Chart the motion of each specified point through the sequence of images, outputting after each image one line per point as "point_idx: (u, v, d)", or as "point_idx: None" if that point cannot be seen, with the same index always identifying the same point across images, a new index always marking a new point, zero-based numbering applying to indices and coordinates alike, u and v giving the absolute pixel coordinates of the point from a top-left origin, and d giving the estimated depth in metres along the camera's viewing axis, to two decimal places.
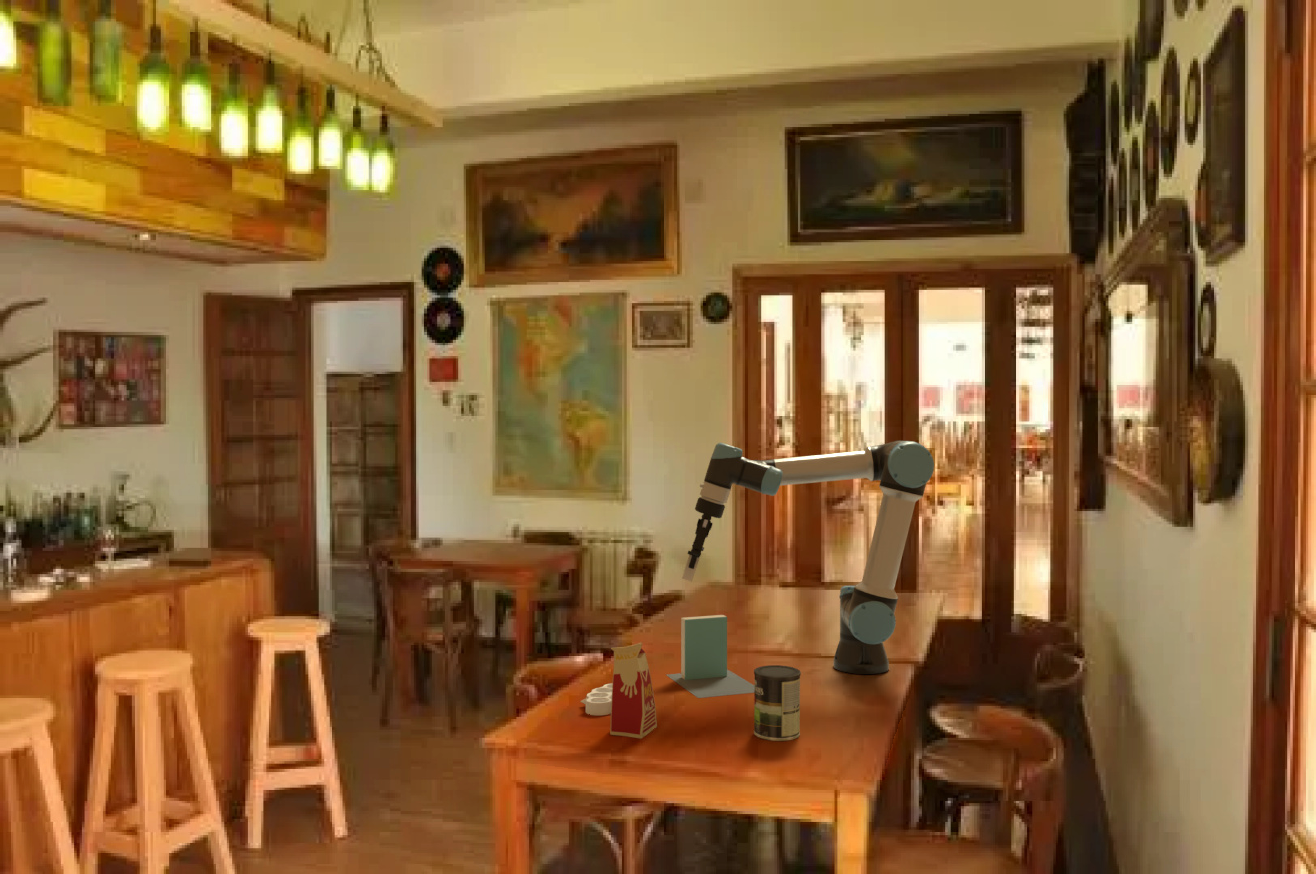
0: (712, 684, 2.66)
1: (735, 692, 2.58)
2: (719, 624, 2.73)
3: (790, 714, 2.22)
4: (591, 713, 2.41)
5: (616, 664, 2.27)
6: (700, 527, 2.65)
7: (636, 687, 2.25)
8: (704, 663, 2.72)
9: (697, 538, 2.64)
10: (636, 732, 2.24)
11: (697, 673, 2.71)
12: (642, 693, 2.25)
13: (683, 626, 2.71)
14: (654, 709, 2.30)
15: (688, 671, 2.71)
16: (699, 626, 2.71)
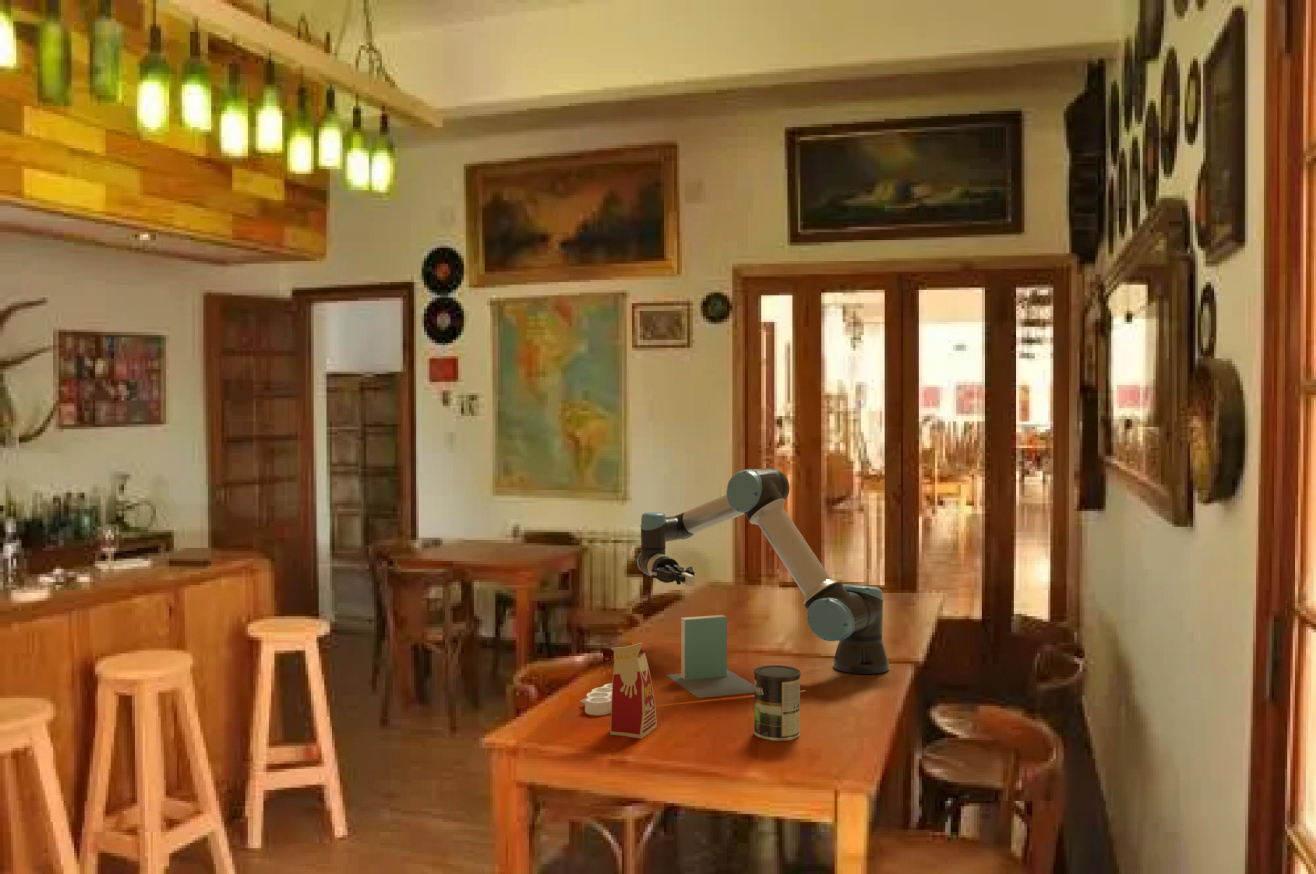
0: (712, 684, 2.66)
1: (735, 692, 2.58)
2: (719, 624, 2.73)
3: (790, 714, 2.22)
4: (590, 713, 2.41)
5: (616, 664, 2.27)
6: (657, 577, 2.93)
7: (635, 687, 2.25)
8: (704, 663, 2.72)
9: (663, 578, 2.91)
10: (636, 732, 2.24)
11: (697, 673, 2.71)
12: (642, 693, 2.25)
13: (683, 626, 2.71)
14: (654, 709, 2.30)
15: (688, 671, 2.71)
16: (699, 626, 2.71)
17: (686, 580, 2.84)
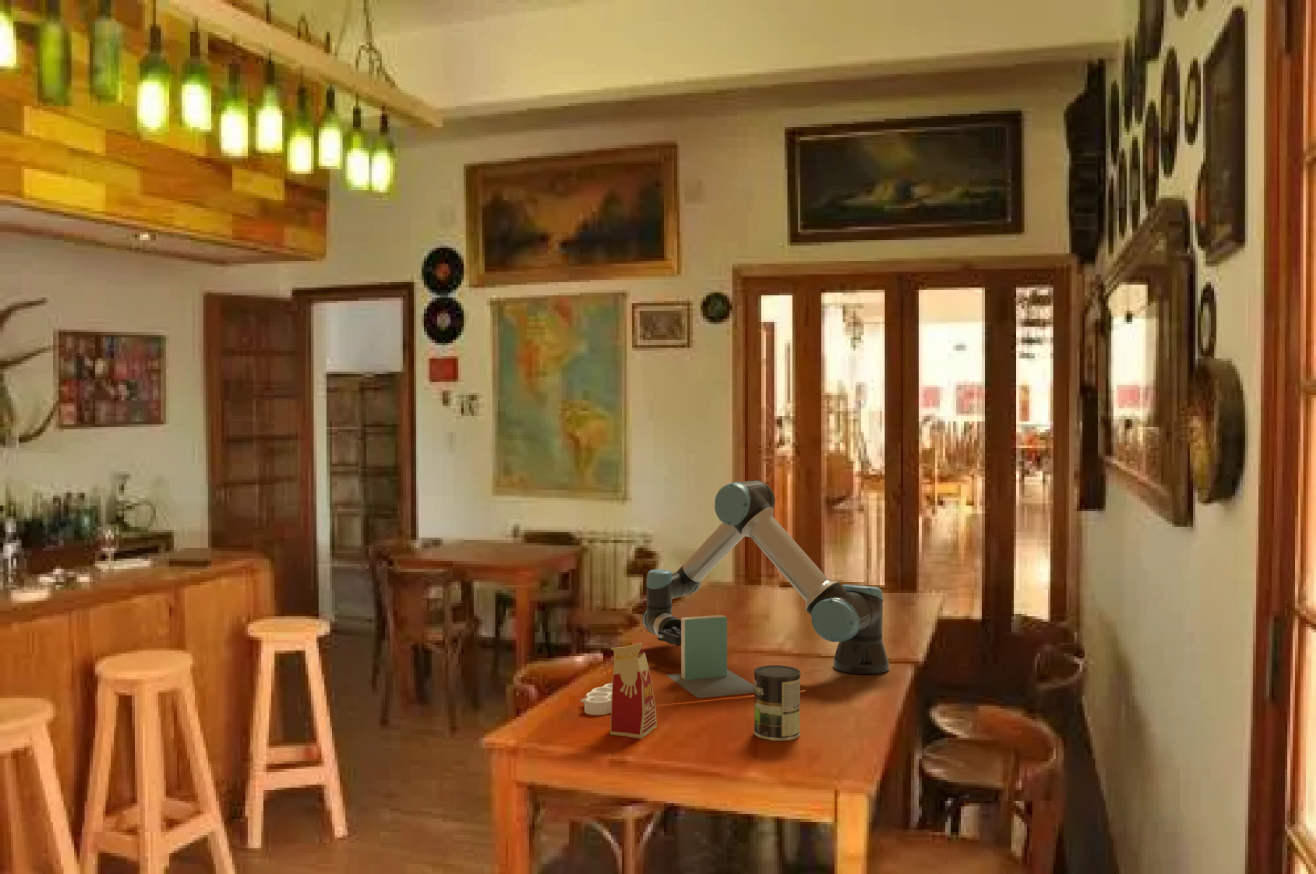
0: (712, 684, 2.66)
1: (735, 692, 2.58)
2: (719, 624, 2.73)
3: (790, 714, 2.22)
4: (590, 712, 2.41)
5: (616, 664, 2.27)
6: (663, 640, 2.87)
7: (635, 687, 2.25)
8: (704, 663, 2.72)
9: (669, 641, 2.84)
10: (636, 732, 2.24)
11: (697, 673, 2.71)
12: (642, 693, 2.25)
13: (683, 626, 2.71)
14: (654, 709, 2.30)
15: (688, 671, 2.71)
16: (699, 626, 2.71)
17: None
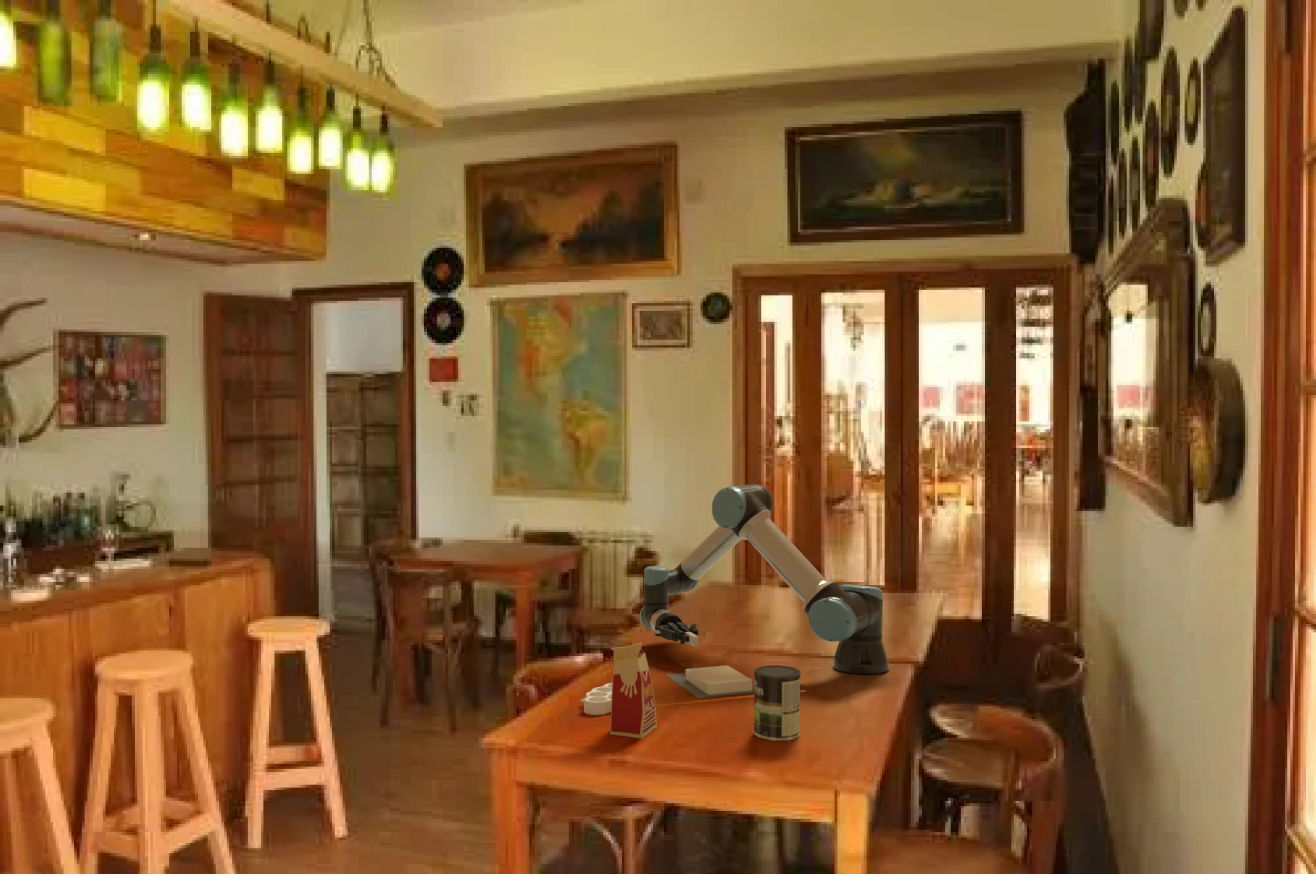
0: None
1: None
2: None
3: (790, 714, 2.22)
4: (589, 712, 2.42)
5: (616, 664, 2.27)
6: (660, 635, 2.91)
7: (635, 687, 2.25)
8: None
9: (666, 637, 2.88)
10: (636, 732, 2.24)
11: None
12: (642, 693, 2.25)
13: (705, 690, 2.57)
14: (654, 709, 2.30)
15: None
16: None
17: (690, 640, 2.81)
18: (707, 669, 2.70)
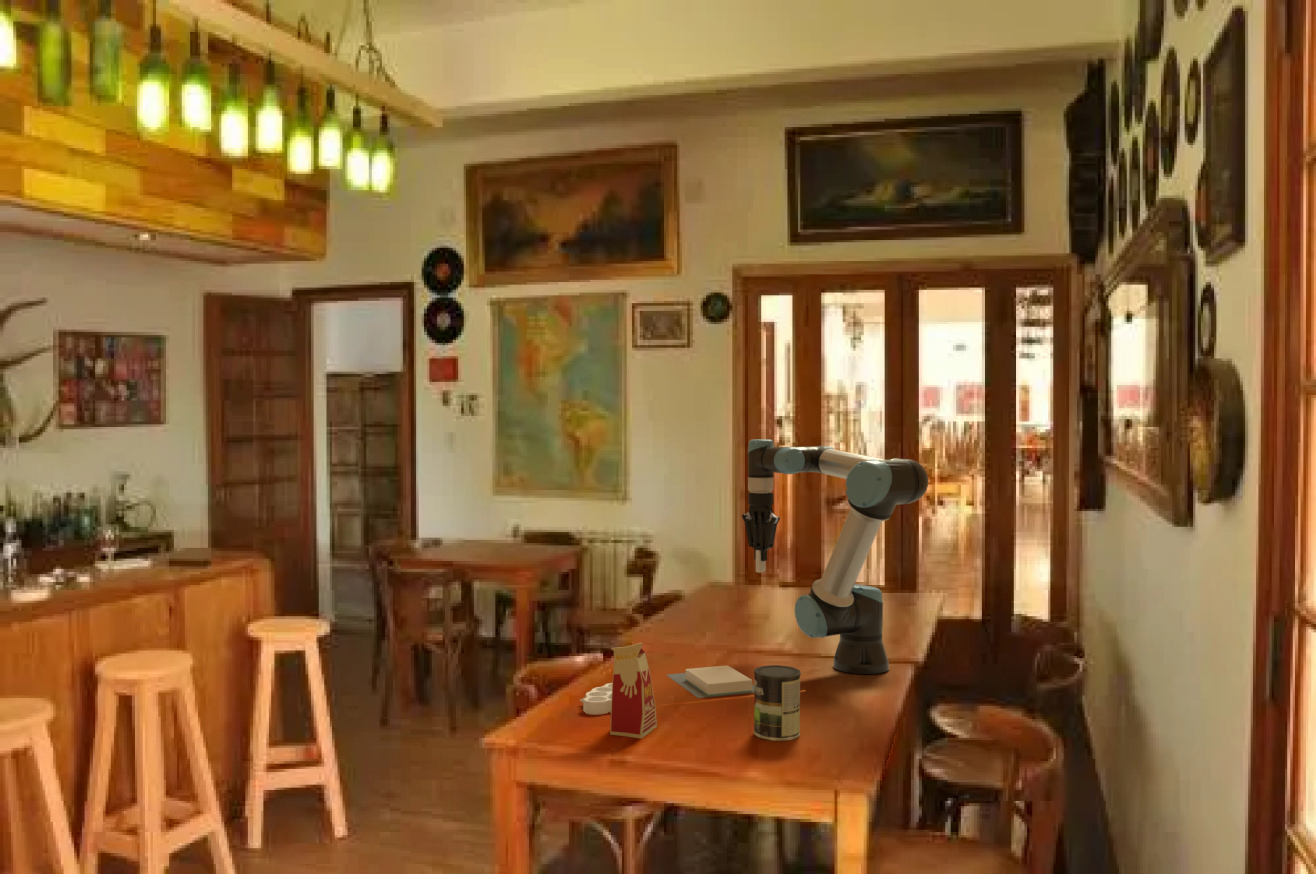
0: None
1: None
2: None
3: (790, 714, 2.22)
4: (588, 712, 2.42)
5: (616, 664, 2.27)
6: None
7: (635, 687, 2.25)
8: None
9: None
10: (636, 732, 2.24)
11: None
12: (642, 693, 2.25)
13: (705, 690, 2.57)
14: (654, 709, 2.30)
15: None
16: None
17: None
18: (707, 669, 2.70)
